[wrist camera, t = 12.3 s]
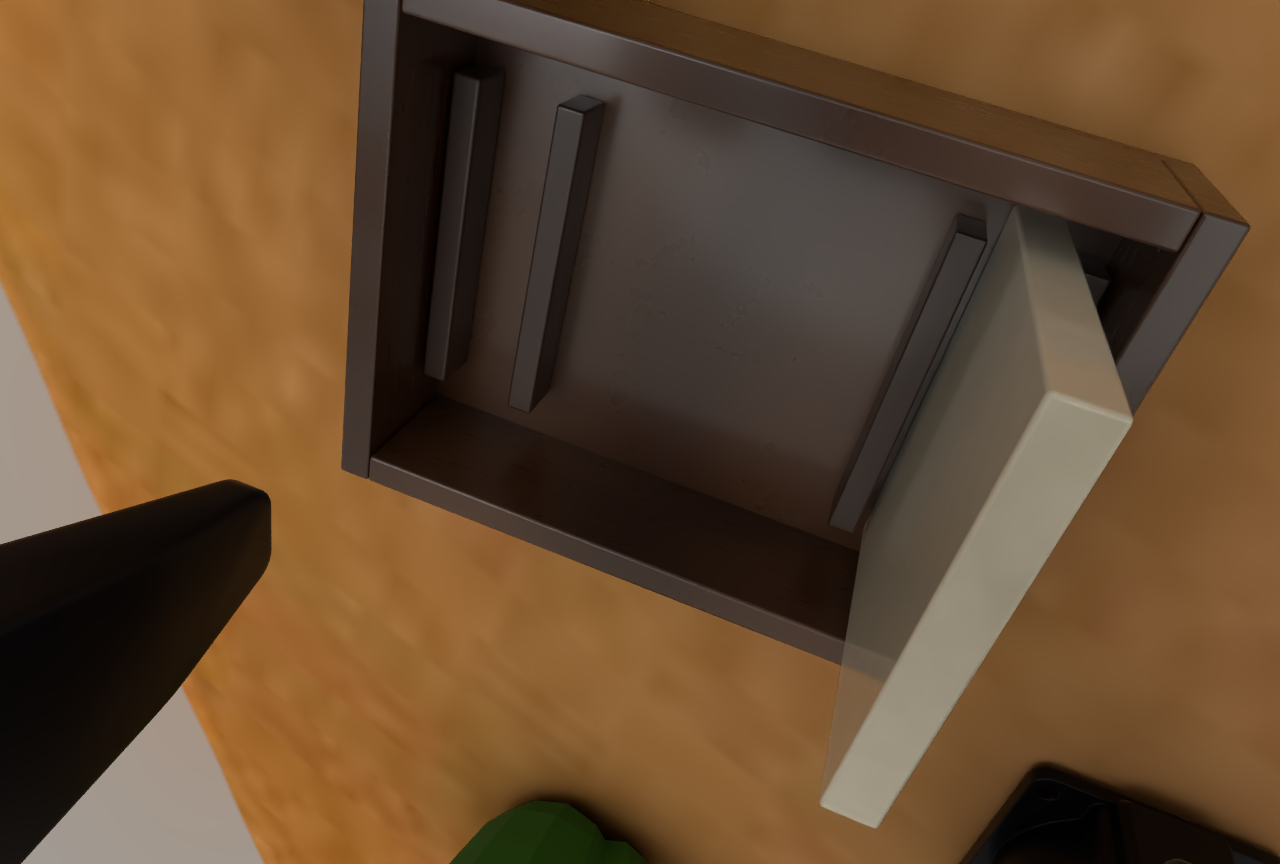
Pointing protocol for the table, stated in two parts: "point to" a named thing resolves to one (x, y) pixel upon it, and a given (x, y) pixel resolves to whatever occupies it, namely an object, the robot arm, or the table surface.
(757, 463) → the coaster holder
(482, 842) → the bell pepper
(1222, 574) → the table surface
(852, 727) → the cream coaster
